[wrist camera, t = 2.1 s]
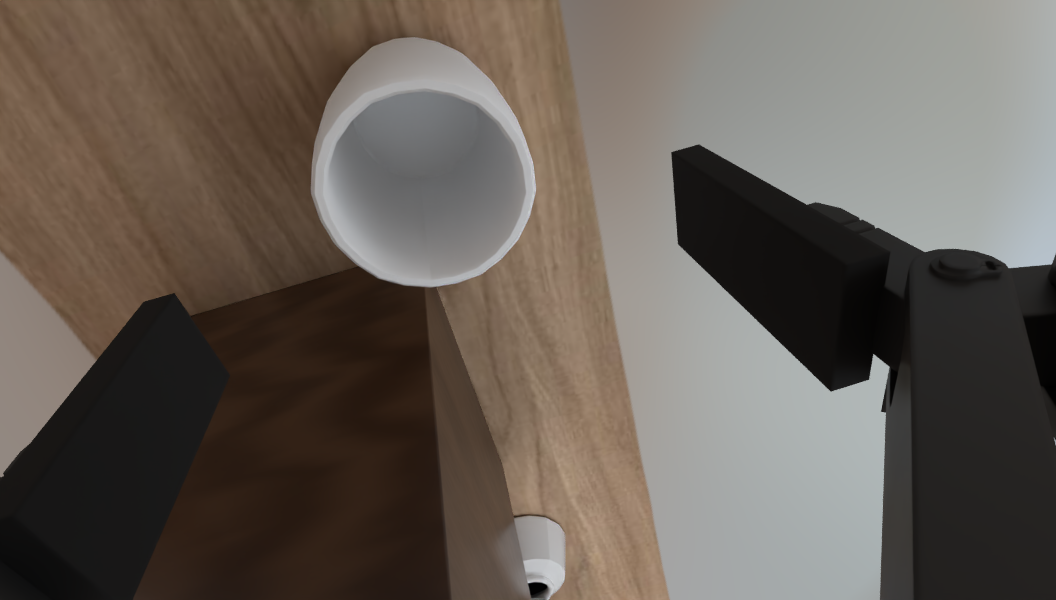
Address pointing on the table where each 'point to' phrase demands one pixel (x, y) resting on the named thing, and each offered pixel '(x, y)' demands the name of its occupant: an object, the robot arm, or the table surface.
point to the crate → (340, 458)
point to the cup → (421, 166)
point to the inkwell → (542, 554)
